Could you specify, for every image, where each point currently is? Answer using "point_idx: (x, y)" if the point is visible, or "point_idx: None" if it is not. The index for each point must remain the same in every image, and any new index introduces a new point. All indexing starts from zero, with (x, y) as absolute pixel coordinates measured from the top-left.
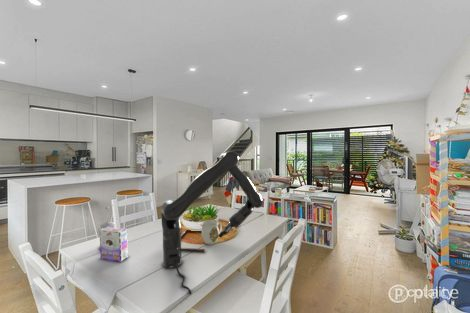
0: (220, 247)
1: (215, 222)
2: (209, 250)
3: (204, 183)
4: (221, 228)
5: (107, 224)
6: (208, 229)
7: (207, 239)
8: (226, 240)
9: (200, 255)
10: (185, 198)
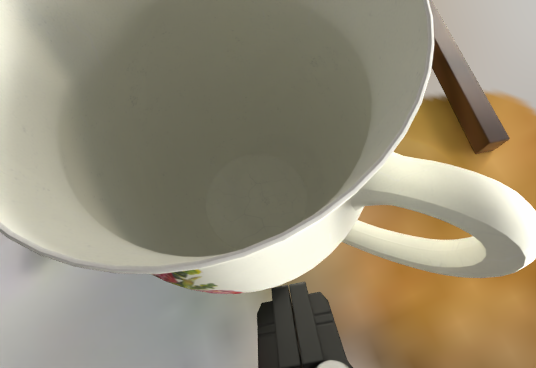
0: (177, 360)
1: (384, 119)
2: (97, 271)
3: None
4: (454, 266)
5: None
6: (57, 143)
7: (148, 191)
8: (371, 361)
9: (4, 237)
10: None
